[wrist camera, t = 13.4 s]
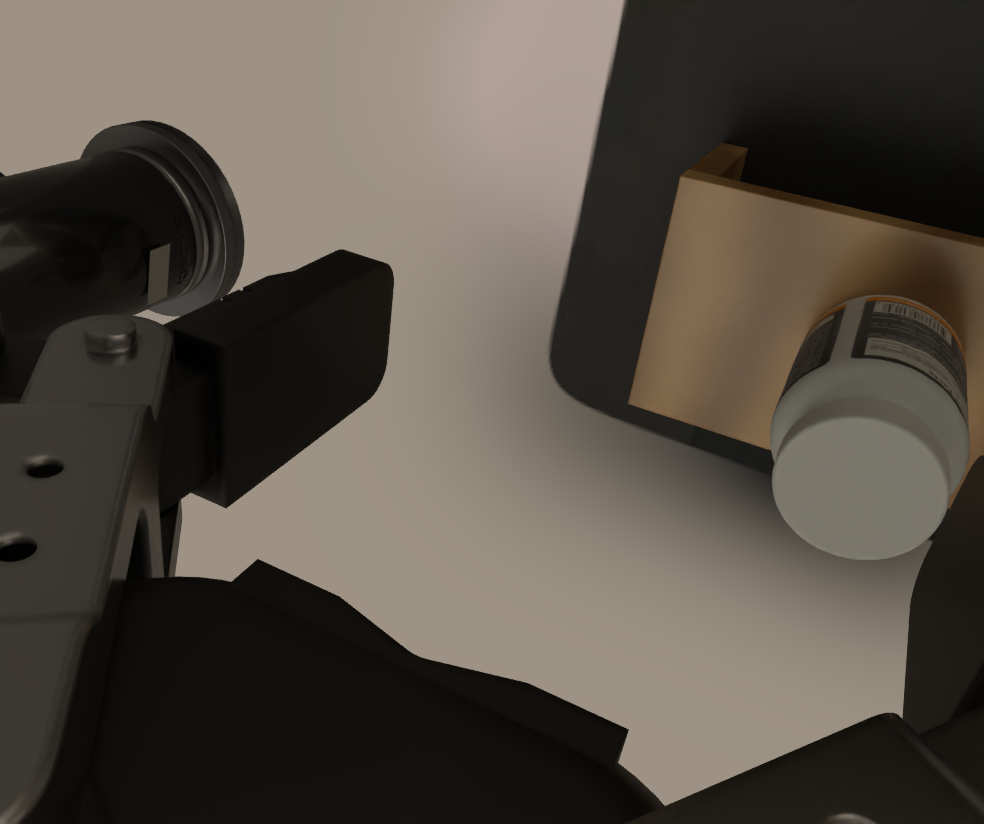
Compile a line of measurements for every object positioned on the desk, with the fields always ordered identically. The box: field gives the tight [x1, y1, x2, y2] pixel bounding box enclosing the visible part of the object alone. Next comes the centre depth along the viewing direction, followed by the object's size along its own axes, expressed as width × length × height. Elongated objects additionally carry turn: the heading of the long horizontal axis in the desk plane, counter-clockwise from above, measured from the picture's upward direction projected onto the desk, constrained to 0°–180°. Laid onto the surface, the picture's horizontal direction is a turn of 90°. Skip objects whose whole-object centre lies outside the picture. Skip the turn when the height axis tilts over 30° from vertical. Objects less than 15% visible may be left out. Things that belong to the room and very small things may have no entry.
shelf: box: [628, 143, 984, 509], centre depth 36 cm, size 18×10×7 cm, turn 80°
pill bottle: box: [770, 295, 970, 560], centre depth 29 cm, size 6×6×10 cm
